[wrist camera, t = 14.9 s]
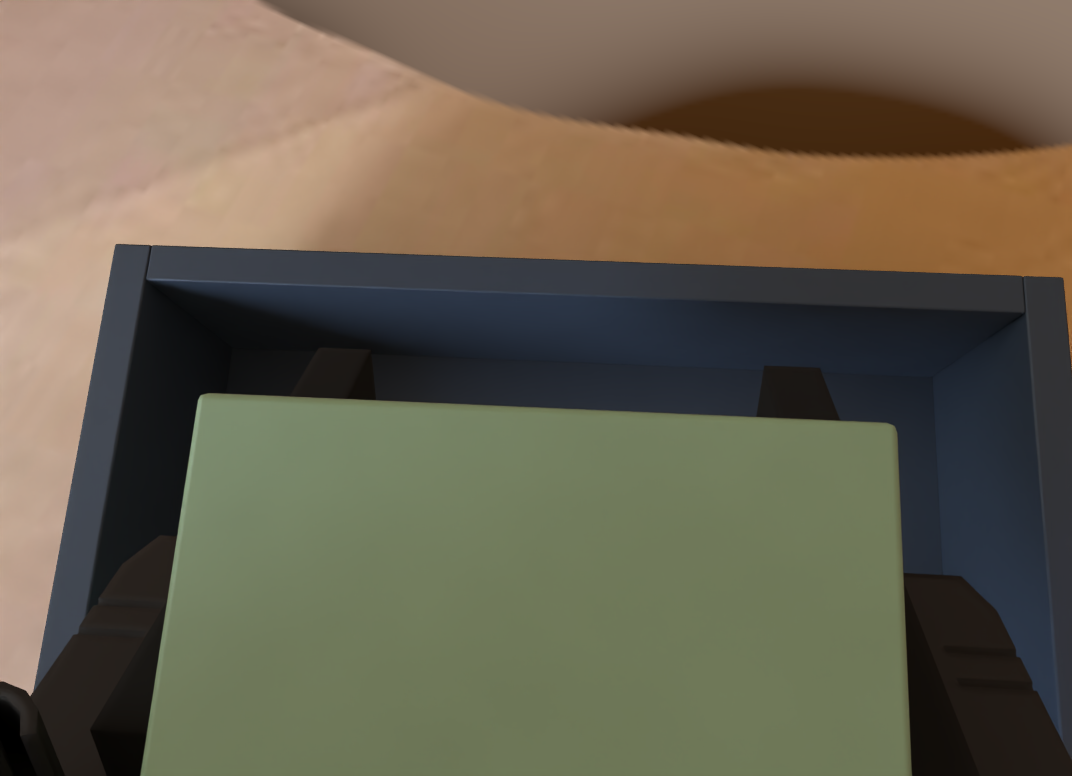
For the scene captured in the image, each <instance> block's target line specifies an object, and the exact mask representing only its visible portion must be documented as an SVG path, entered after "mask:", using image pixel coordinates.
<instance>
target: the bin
mask: <svg viewBox="0 0 1072 776" xmlns="http://www.w3.org/2000/svg"><path fill="white" fill-rule="evenodd" d="M318 348H340V349H365V350H371V354H372V364H373V374H374V384H375V394H376V400H380V401H403V402H426V403H449V404H471V405H494V406H517V407H540V408H563V409H585V410H608V411H631V412H654V413H677V414H699V415H722V416H745V417H756V416H757V409H758V402H759V396H760V389H761V383H762V376H763V369H764V366H787V367H812V368H820V370H821V372H822V375H823V377H824V380H825V383H826V385H827V388H828V390H829V393H830V395H831V398H832V400H833V403H834V405H835V408H836V411H837V413H838V416H839V418H840V421H859V422H882V423H888V424H891V425H893V426H895V428H896V431H897V437H898V461H899V484H900V507H901V531H902V555H903V573H916V574H934V575H953V576H961V577H963V578H964V579H965V580H966V581H967V582H968V583H969V584H970V585H971V586H972V587H973V588H974V589H975V590H976V591H977V592H978V593H979V594H980V595H981V596H982V597H983V598H984V599H985V600H986V601H988V602H989V603H990V604H991V605H992V606H993V607H994V608H995V609H996V610H997V612H998V614H999V616H1000V618H1001V620H1002V622H1003V624H1004V626H1005V628H1006V630H1007V632H1008V634H1009V636H1010V638H1011V640H1012V642H1013V644H1014V646H1015V648H1016V656H1017V657H1020V658H1021V660H1022V662H1023V664H1024V666H1025V668H1026V670H1027V672H1028V674H1029V676H1030V678H1031V680H1032V682H1033V684H1032V687H1033V690H1034V691H1037V692H1038V694H1039V696H1040V698H1041V700H1042V702H1043V704H1044V706H1045V708H1046V710H1047V712H1048V714H1049V716H1050V718H1051V720H1052V722H1053V724H1054V726H1055V728H1056V730H1057V732H1058V734H1059V736H1060V738H1061V740H1062V742H1063V744H1064V746H1065V748H1066V750H1067V752H1068V754H1069V756H1070V758H1071V760H1072V368H1071V357H1070V346H1069V335H1068V324H1067V313H1066V302H1065V291H1064V280H1063V278H1061V277H1034V276H1024V277H1022V276H1010V275H981V274H953V273H925V272H896V271H868V270H840V269H811V268H783V267H754V266H726V265H698V264H669V263H641V262H613V261H584V260H556V259H527V258H499V257H471V256H442V255H414V254H385V253H357V252H329V251H300V250H272V249H244V248H215V247H187V246H158V245H153V246H150V245H128V244H116V245H115V250H114V255H113V261H112V266H111V272H110V277H109V283H108V288H107V294H106V299H105V304H104V310H103V315H102V321H101V326H100V332H99V337H98V343H97V348H96V353H95V359H94V364H93V370H92V375H91V381H90V386H89V392H88V397H87V403H86V408H85V413H84V419H83V424H82V430H81V435H80V441H79V446H78V452H77V457H76V462H75V468H74V473H73V479H72V484H71V490H70V495H69V501H68V506H67V512H66V517H65V522H64V528H63V533H62V539H61V544H60V550H59V555H58V561H57V566H56V572H55V577H54V582H53V588H52V593H51V599H50V604H49V610H48V615H47V621H46V626H45V631H44V637H43V642H42V648H41V653H40V659H39V664H38V670H37V675H36V681H35V686H34V691H35V689H36V688H37V686H38V685H39V683H40V682H41V680H42V679H43V678H44V676H45V675H46V673H47V672H48V670H49V669H50V667H51V666H52V665H53V663H54V662H55V660H56V659H57V657H58V656H59V655H60V653H61V652H62V650H63V649H64V647H65V646H66V644H67V643H68V642H69V640H70V639H71V637H72V636H73V634H76V635H77V634H78V632H79V626H80V624H81V623H82V621H83V620H84V618H85V617H86V616H87V614H88V613H89V611H90V610H91V608H92V607H93V605H98V602H99V599H98V598H99V597H100V595H101V594H102V593H103V591H104V590H105V588H106V587H107V585H108V584H109V582H110V581H111V580H112V578H113V577H114V575H115V574H116V572H117V571H118V569H119V568H120V567H121V565H122V564H123V563H124V562H126V561H127V560H128V559H129V558H131V557H132V556H133V555H135V554H136V553H137V552H139V551H140V550H141V549H143V548H144V547H145V546H146V545H148V544H149V543H150V542H152V541H153V540H154V539H156V538H157V537H158V536H160V535H163V536H177V534H178V528H179V521H180V515H181V508H182V502H183V495H184V489H185V482H186V475H187V469H188V462H189V456H190V449H191V443H192V436H193V430H194V423H195V417H196V410H197V404H198V400H199V398H200V396H201V395H204V394H207V393H221V394H243V395H266V396H290V395H291V393H292V391H293V390H294V388H295V386H296V385H297V383H298V381H299V380H300V378H301V376H302V375H303V373H304V371H305V370H306V368H307V366H308V365H309V363H310V361H311V360H312V358H313V356H314V355H315V353H316V351H317V350H318ZM34 691H33V692H34Z"/></svg>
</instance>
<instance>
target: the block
mask: <svg viewBox="0 0 1072 776" xmlns="http://www.w3.org/2000/svg"><path fill="white" fill-rule="evenodd" d="M140 776H912V766H911V743H910V719H909V695H908V672H907V648H906V625H905V602H904V578H903V555H902V531H901V507H900V484H899V461H898V437H897V431H896V428H895V426H893V425H891V424H888V423H882V422H859V421H836V420H813V419H791V418H768V417H745V416H722V415H699V414H677V413H654V412H631V411H608V410H585V409H563V408H540V407H517V406H494V405H471V404H449V403H426V402H403V401H380V400H357V399H335V398H312V397H289V396H266V395H243V394H221V393H207V394H204V395H201V396H200V398H199V400H198V404H197V410H196V417H195V423H194V430H193V436H192V443H191V449H190V456H189V462H188V469H187V475H186V482H185V489H184V495H183V502H182V508H181V515H180V521H179V528H178V534H177V541H176V547H175V554H174V560H173V567H172V573H171V580H170V586H169V593H168V599H167V606H166V612H165V619H164V625H163V632H162V638H161V645H160V651H159V658H158V664H157V671H156V678H155V684H154V691H153V697H152V704H151V710H150V717H149V723H148V730H147V736H146V743H145V749H144V756H143V762H142V769H141V775H140Z"/></svg>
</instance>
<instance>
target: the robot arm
mask: <svg viewBox="0 0 1072 776" xmlns="http://www.w3.org/2000/svg"><path fill="white" fill-rule="evenodd" d="M289 397H312V398H335V399H357V400H376V394H375V384H374V374H373V364H372V354H371V350H365V349H340V348H318V350H317V351H316V353H315V355H314V356H313V358H312V360H311V361H310V363H309V365H308V366H307V368H306V370H305V371H304V373H303V375H302V376H301V378H300V380H299V381H298V383H297V385H296V386H295V388H294V390H293V391H292V393H291V395H290V396H289ZM756 417H768V418H791V419H813V420H836V421H840V418H839V416H838V413H837V411H836V408H835V405H834V403H833V400H832V398H831V395H830V393H829V390H828V388H827V385H826V383H825V380H824V377H823V375H822V372H821V370H820V368H812V367H787V366H764V369H763V376H762V383H761V389H760V396H759V402H758V409H757V416H756ZM176 541H177V536H163V535H160V536H158V537H157V538H156V539H154V540H153V541H152V542H150V543H149V544H148V545H146V546H145V547H144V548H143V549H141V550H140V551H139V552H137V553H136V554H135V555H133V556H132V557H131V558H129V559H128V560H127V561H126V562H124V563H123V564H122V565H121V567H120V568H119V569H118V571H117V572H116V574H115V575H114V577H113V578H112V580H111V581H110V582H109V584H108V585H107V587H106V588H105V590H104V591H103V593H102V594H101V595H100V597H99V598H98V599H99V602H98V605H93V607H92V608H91V610H90V611H89V613H88V614H87V616H86V617H85V618H84V620H83V621H82V623H81V624H80V626H79V632H78V634H77V635H76V634H73V636H72V637H71V639H70V640H69V642H68V643H67V644H66V646H65V647H64V649H63V650H62V652H61V653H60V655H59V656H58V657H57V659H56V660H55V662H54V663H53V665H52V666H51V667H50V669H49V670H48V672H47V673H46V675H45V676H44V678H43V679H42V680H41V682H40V683H39V685H38V686H37V688H36V689H35V691H34V692H33V693H32V695H31V696H29V694H28V693H27V691H25V690H23V689H20V688H18V687H15V686H13V685H10V684H8V683H5V682H0V776H140V775H141V769H142V762H143V756H144V749H145V743H146V736H147V730H148V723H149V717H150V710H151V704H152V697H153V691H154V684H155V678H156V671H157V664H158V658H159V651H160V645H161V638H162V632H163V625H164V619H165V612H166V606H167V599H168V593H169V586H170V580H171V573H172V567H173V560H174V554H175V547H176ZM903 578H904V602H905V625H906V648H907V672H908V695H909V719H910V743H911V766H912V776H1072V760H1071V758H1070V756H1069V754H1068V752H1067V750H1066V748H1065V746H1064V744H1063V742H1062V740H1061V738H1060V736H1059V734H1058V732H1057V730H1056V728H1055V726H1054V724H1053V722H1052V720H1051V718H1050V716H1049V714H1048V712H1047V710H1046V708H1045V706H1044V704H1043V702H1042V700H1041V698H1040V696H1039V694H1038V692H1037V691H1034V690H1033V687H1032V684H1033V682H1032V680H1031V678H1030V676H1029V674H1028V672H1027V670H1026V668H1025V666H1024V664H1023V662H1022V660H1021V658H1020V657H1017V656H1016V648H1015V646H1014V644H1013V642H1012V640H1011V638H1010V636H1009V634H1008V632H1007V630H1006V628H1005V626H1004V624H1003V622H1002V620H1001V618H1000V616H999V614H998V612H997V610H996V609H995V608H994V607H993V606H992V605H991V604H990V603H989V602H988V601H986V600H985V599H984V598H983V597H982V596H981V595H980V594H979V593H978V592H977V591H976V590H975V589H974V588H973V587H972V586H971V585H970V584H969V583H968V582H967V581H966V580H965V579H964V578H963V577H961V576H953V575H934V574H916V573H903Z"/></svg>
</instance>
